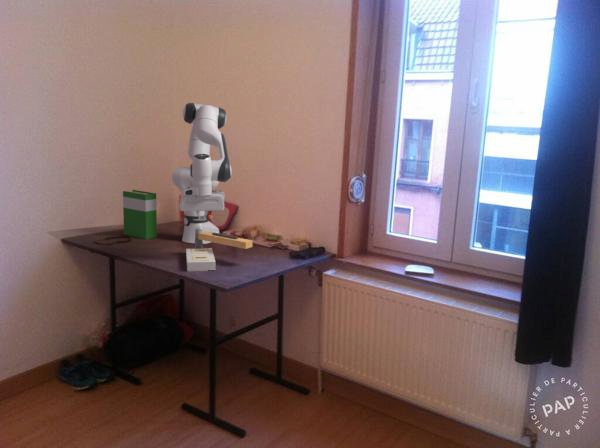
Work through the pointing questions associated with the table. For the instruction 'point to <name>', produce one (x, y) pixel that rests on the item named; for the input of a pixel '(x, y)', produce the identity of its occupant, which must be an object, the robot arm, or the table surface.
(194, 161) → the robot arm
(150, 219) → the hardback book
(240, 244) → the light wooden bar
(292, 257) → the table surface
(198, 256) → the two-drawer filing cabinet
